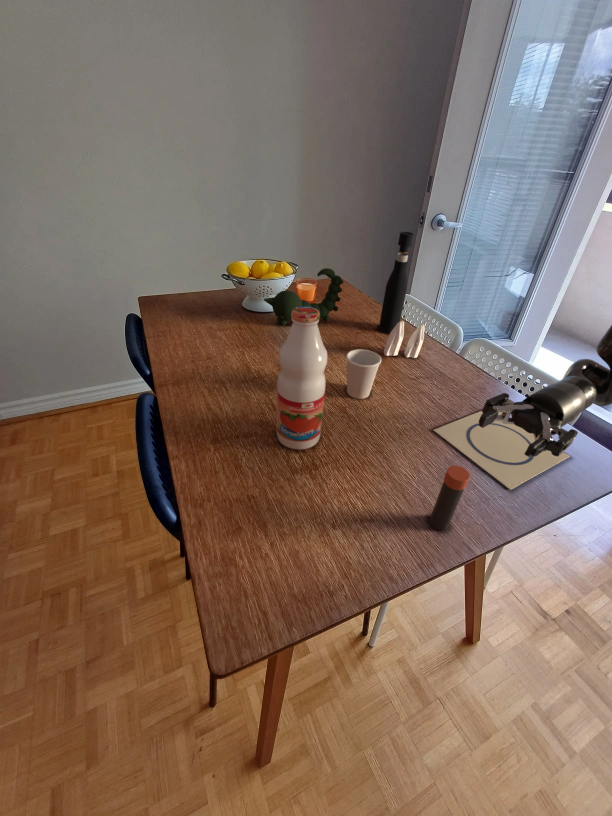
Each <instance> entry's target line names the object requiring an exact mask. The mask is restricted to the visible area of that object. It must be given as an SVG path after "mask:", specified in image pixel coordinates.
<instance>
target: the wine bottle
mask: <svg viewBox="0 0 612 816" xmlns="http://www.w3.org/2000/svg"><path fill="white" fill-rule="evenodd" d="M413 240H414V233H413V232H409V231H401V232H399V237H398V243H397V245H398V246H399V250H398V253H397V255H396V257H395V258H396V259H395V260H394V265H393V270H392V271H391V273H390V275H389V277H388V279H387V281H386V285H385V291H384V294H383V295H384V296H383V301H382V308H381V313H380V319H379V324H378V330H379V331H380V332H381V333H383V334H389V335H390V333H391V332H392V330H393V329H394V327H395V326H396V325H397V323H398V322H401V319H402V315H403V310H404V305H405V300H406V296H407V295H406V294H407V290H408V275H407V267H408V263H409V262H408V258H409V254H408V253H409V248H410V247H412V245H413Z"/></svg>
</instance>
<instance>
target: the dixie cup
mask: <svg viewBox="0 0 612 816" xmlns="http://www.w3.org/2000/svg"><path fill="white" fill-rule="evenodd" d="M345 359H346V393H347V395H348V396H349V397H351V398H354V399H357V400H358V399H360V400H361V399H366V398H368V397H369V396H370V394H371V391H372V388H373V385H374V382H375V379H376V376H377V373H378V370H379V367H380V364H381V363H382V357H381V355H379V354H378V353H376V352H375V351H372V350H369V349H362V348H360V349H359V348H358V349H352V350H350V351H348V352H347V353H346V355H345Z"/></svg>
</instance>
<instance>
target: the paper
mask: <svg viewBox="0 0 612 816" xmlns="http://www.w3.org/2000/svg"><path fill="white" fill-rule="evenodd" d="M502 413H503V412H499V413H498V415H502ZM482 414H483V413H482V410H480V411H478V412H475V413H472V414H470V415H467V416H465V417H463V418H460V419H457V420H454V421H452V422H450V423H447V424H444V425H442V426H439V427H437V428H435V429H433V430H432V431H433V432H434V433H436V434H437V435H438V436H439V437H441V438H442V439H443V440H445V441H446V442H447V443H449V444H450V445H451V446H452V447H454V448H455V449H457V450H458V451H459V452H460V453H461V454H463V455H464V456H465V457H467V458H468V459H469V460H470V461H472V462H473V463H475V465H477V466H479V468H480V469H482V470H484V471H485V472H486V473H487V474H489V475H490V476H491V477H493V478H494V479H495V480H496V481H497V482H499V483H500V484H502V486H504V487H505V488H507V489H508V490H509V491H511V490H513V489H515V488H517V487H518V486H520V485H522V484H524V483H525V482H527V481H529V480H531V479H532V478H534V477H536V476H538V475H539V474H541V473H543V472H545V471H547V470H549V469H550V468H552V467H555V466H556V465H558V464H559V463H562V462H563V461H565V460H566V459H568V458H570V455H569V454H567V453H566V452H565V451H564V452H563V453H562V454H560V455H559V456H554V455H552V454H551V451H548V450H547V451H543V452H542V453H540V454H539V455H537V456H532V455H531V456H530V457H528V456H526V455H525V452H526V450H527V448H528V446H529V445H530V444H531V443H533V442H534V441H535V439H534V435H533V434H532V433H531V434H530V433H528V432H526V431H525V430H524V429H522V428H520V427H518V426H516V425H514V424H504V423H503V422H502V421H494V422H493V423H491V424H489V425H487V426H485V427H484V428H482V427H480V426H479V419H480V417H481V415H482Z"/></svg>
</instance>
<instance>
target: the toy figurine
mask: <svg viewBox="0 0 612 816" xmlns="http://www.w3.org/2000/svg"><path fill="white" fill-rule="evenodd" d="M320 276H326V277H327V278H328V279H330V283H329V284H328V288H327V291H326V292H325V295H324V296H325V297H324V298H323V299H322V300H321V302H318V303H316V302H309V301H308V300H305V299H302V298H301V297H300V296H299V294H298V293H296V292H295V291H292V290H289V289H287V290H286V289H285V290H281V291H279V292H278V293H276V295H275V296H273V297H266V298H263V301H264V302H265V303H267V304H269V305H270V306H271V307H272V312H273V313H274V315H275V317H276V321H277V323H278V325H279V326H282V327H283V326H286V325H287V323H288V322H289V321H291V322H292V319H291V318H292V317H291V314H292V310H293V309H294V308H296V307H301V306H307V307H313V308H315V309H317V310H318V311H319V313H320V319H323V321H324V322H326V323H328V322H329V321H330V316H329V314H330V312H332V311H333V312H338V311H339V307H338V305H336V302H338V303H339V302H341V297H340V296H339V293H342V292H343V289H342V288H341V285H343V284H344V280H343V279H342V277H341V276H340V275H337V274H336V272H335V270H333V269H331V268H330V267H329V268H327V267H325V268H322V269H321V270H319V271H318V272H317V277H320ZM320 319H319V320H320ZM317 325H319V322H318V323H317Z"/></svg>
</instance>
